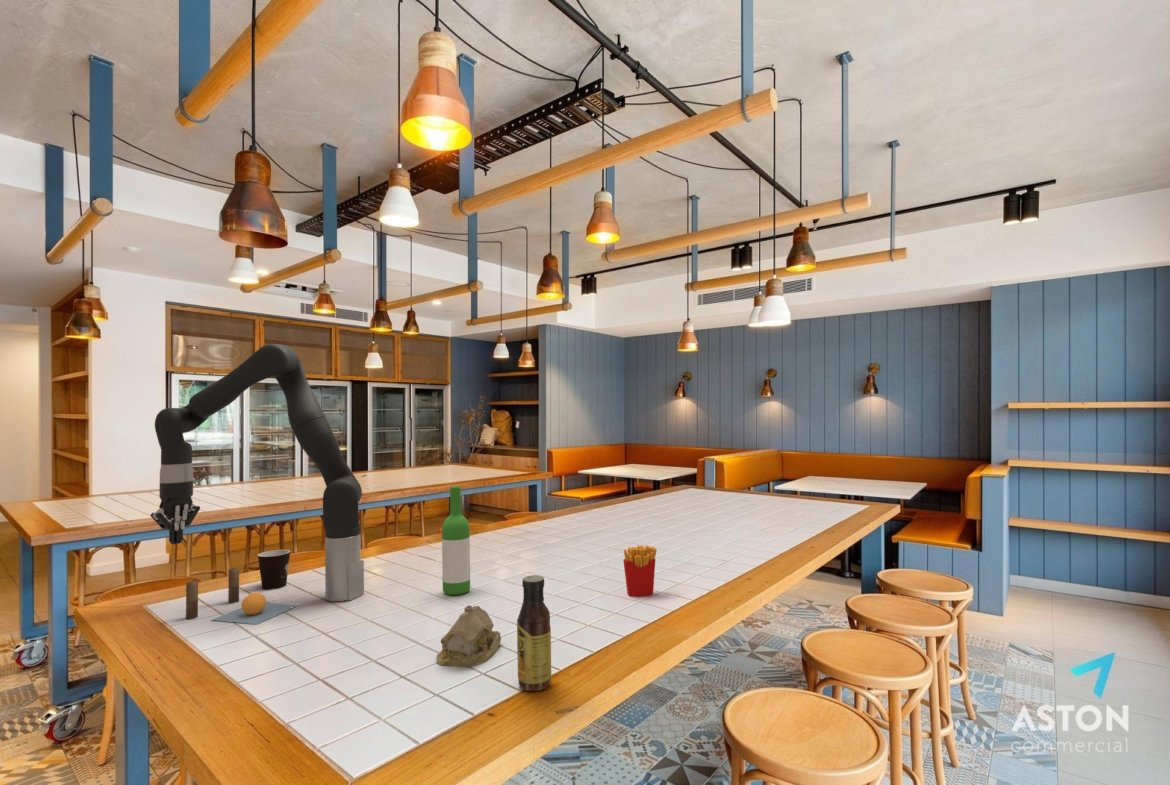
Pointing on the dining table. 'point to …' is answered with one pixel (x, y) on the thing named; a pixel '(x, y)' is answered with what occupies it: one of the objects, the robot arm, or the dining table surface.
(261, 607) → the ball
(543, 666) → the sauce bottle
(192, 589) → the left post
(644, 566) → the french fries
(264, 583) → the coffee mug
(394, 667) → the dining table surface
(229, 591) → the right post
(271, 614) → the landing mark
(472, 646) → the ceramic model
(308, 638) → the dining table surface
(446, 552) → the wine bottle
